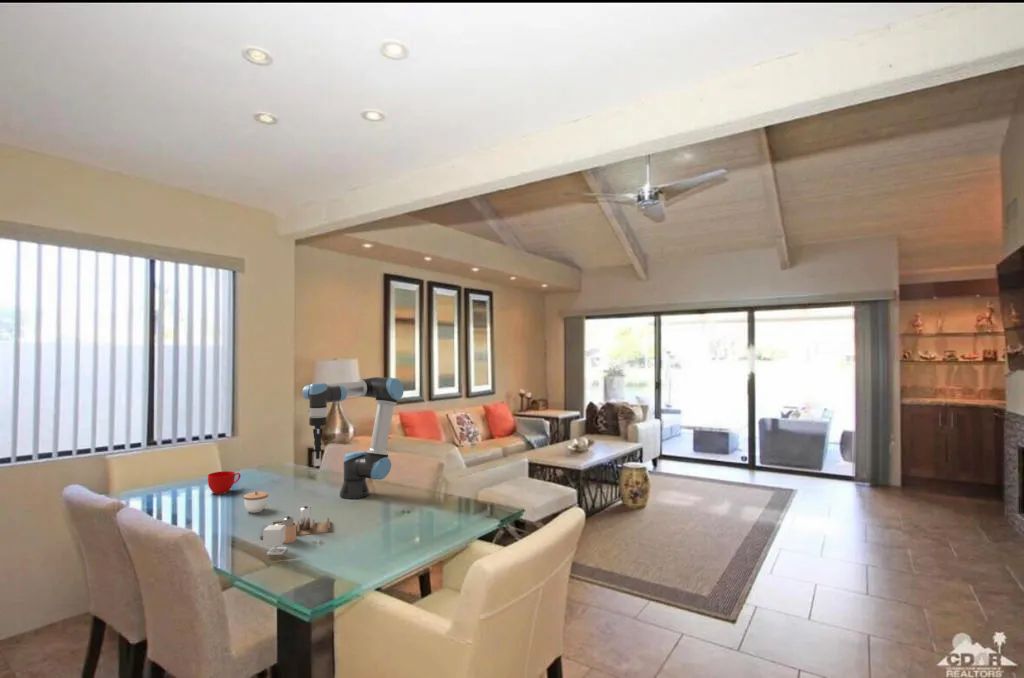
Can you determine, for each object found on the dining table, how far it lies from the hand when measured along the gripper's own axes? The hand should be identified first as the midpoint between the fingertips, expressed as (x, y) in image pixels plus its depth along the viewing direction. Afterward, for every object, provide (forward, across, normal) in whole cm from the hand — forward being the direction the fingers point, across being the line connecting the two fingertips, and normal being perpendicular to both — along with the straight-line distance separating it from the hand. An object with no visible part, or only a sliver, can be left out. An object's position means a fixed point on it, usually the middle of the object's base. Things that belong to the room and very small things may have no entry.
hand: (317, 462), depth 241 cm
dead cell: (+26, +25, -12) cm, 38 cm away
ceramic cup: (+27, -65, -46) cm, 84 cm away
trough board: (+26, +14, -1) cm, 30 cm away
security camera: (+26, +37, -16) cm, 48 cm away
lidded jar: (+26, -23, -27) cm, 45 cm away
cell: (+25, +14, -5) cm, 29 cm away
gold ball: (+26, +14, -15) cm, 33 cm away
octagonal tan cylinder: (+26, +25, -12) cm, 38 cm away
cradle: (+26, +13, -15) cm, 33 cm away
